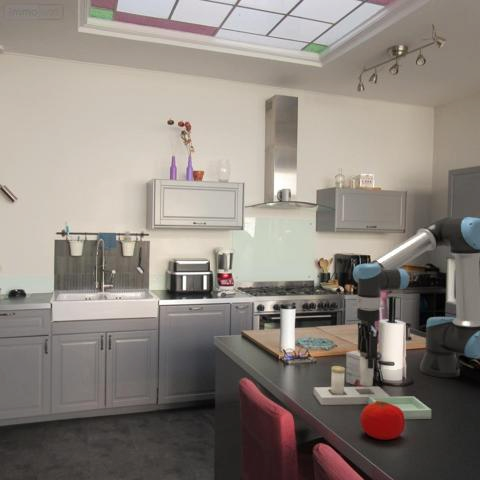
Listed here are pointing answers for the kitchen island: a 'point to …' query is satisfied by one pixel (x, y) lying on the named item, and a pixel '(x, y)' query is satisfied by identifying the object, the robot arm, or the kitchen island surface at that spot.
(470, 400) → the kitchen island surface
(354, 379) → the ink box
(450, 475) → the kitchen island surface
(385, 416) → the tomato
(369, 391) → the socket strip
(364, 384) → the cylinder
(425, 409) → the parts tray
